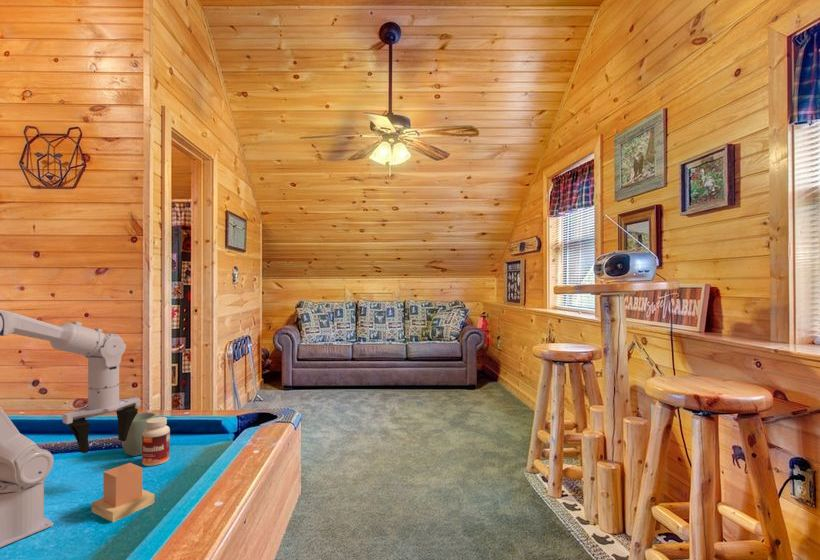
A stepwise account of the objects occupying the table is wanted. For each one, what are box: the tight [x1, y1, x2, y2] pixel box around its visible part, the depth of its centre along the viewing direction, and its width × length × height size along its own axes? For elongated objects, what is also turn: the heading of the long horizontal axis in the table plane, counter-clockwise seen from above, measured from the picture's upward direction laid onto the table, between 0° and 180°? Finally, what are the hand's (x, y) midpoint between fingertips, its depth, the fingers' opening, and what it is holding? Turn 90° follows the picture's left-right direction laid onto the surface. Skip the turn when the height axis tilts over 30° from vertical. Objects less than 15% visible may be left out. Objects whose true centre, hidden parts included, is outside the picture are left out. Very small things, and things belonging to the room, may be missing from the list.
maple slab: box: [91, 488, 155, 523], centre depth 85 cm, size 8×8×2 cm
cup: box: [121, 411, 157, 457], centre depth 113 cm, size 8×8×10 cm
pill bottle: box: [141, 416, 171, 467], centre depth 107 cm, size 6×6×11 cm
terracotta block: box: [102, 462, 143, 507], centre depth 85 cm, size 5×5×6 cm
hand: (103, 445), depth 93 cm, fingers open, 7 cm apart
